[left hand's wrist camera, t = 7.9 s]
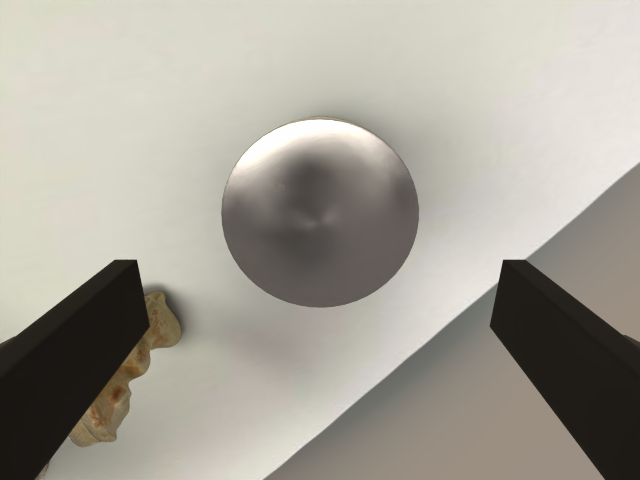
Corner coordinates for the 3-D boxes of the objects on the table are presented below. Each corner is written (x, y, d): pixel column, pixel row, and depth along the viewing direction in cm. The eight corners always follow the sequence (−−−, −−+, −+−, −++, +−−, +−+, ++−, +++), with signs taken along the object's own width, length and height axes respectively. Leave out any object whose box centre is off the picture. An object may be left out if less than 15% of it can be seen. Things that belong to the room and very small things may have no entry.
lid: (265, 306, 25) (260, 325, 23) (202, 149, 21) (189, 154, 19) (424, 265, 24) (434, 282, 22) (387, 91, 20) (396, 90, 18)
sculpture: (144, 341, 43) (59, 458, 29) (123, 288, 40) (17, 389, 26) (192, 334, 42) (129, 450, 28) (173, 281, 40) (93, 379, 26)
